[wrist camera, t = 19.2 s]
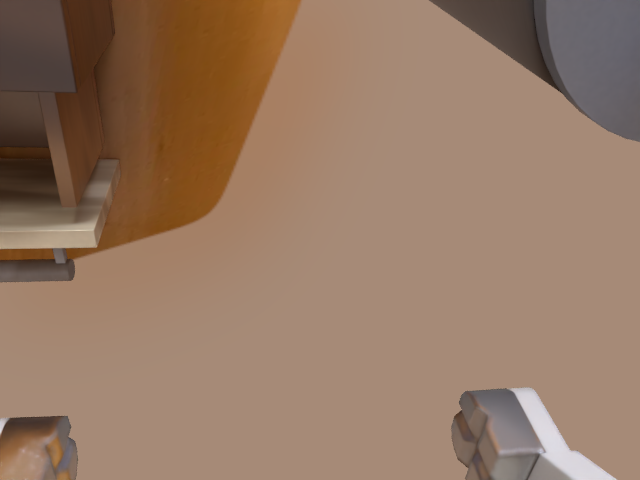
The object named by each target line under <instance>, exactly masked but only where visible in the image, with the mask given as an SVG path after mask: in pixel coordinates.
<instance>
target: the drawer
mask: <svg viewBox="0 0 640 480" xmlns="http://www.w3.org/2000/svg"><path fill="white" fill-rule="evenodd" d="M104 143H105V142H104V135H103V129H102V122H101V115H100V109H99V102H98V95H97V89H96V82H95V75H94V69H92V71H91V73H90V74H89V76H88V77H87V79H86V80H85V82H84V84H83V85H82V87H81V88H80V89H79V91H78V92H77V93H49V92H13V91H0V147H49V149H50V154H51V159H6V158H0V249H35V248H52V249H53V253H54V257H55V259H32V260H0V282H31V281H71V280H73V278H74V274H75V266H74V261H73V260H72V259H67V254H66V249H65V248H96V247H97V245H98V242H99V239H100V236H101V233H102V230H103V227H104V224H105V221H106V218H107V215H108V212H109V209H110V206H111V203H112V200H113V197H114V194H115V191H116V188H117V185H118V182H119V179H120V176H121V171H120V163H119V160H110V159H98V157H99V155H100V153H101V150H102V148H103V146H104Z"/></svg>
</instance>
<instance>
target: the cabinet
mask: <svg viewBox="0 0 640 480" xmlns="http://www.w3.org/2000/svg"><path fill="white" fill-rule="evenodd" d="M114 34H115V29H114V21H113V13H112V5H111V0H0V91H13V92H49V93H77V92H78V91H79V89H80V88H81V87H82V85H83V84H84V82H85V80H86V79H87V77H88V76H89V74H90V73H91V71H92V69H93V68H94V66H95V65H96V63H97V61H98V60H99V58H100V57H101V55H102V54H103V52H104V50H105V49H106V47H107V46H108V44H109V43H110V41H111V39H112V38H113V36H114Z"/></svg>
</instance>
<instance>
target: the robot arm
mask: <svg viewBox="0 0 640 480" xmlns="http://www.w3.org/2000/svg"><path fill="white" fill-rule="evenodd" d="M459 404H460V407H461V409H462V410H461V411H460V412H459V413H458V414H456V415H455V416H454V420H453V423H452V442H453V446H454V450H455V453H456V456H457V458H458V460H459V461H460V462H461V463H463V464H464V465H465V466H466V467H468V471H467V475H466V478H465V479H466V480H616V479H615V478H614V477H612V476H611V475H610V474H608V473H607V472H606V471H604V470H603V469H601V468H600V467H599V466H597V465H596V464H595V463H593V462H592V461H590V460H589V459H588V458H586V457H585V456H584V455H582V454H581V453H579V452H578V451H570V449H569V447H568V446H567V444H566V442H565V441H564V439H563V437H562V435H561V434H560V432H559V431H558V429H557V427H556V426H555V424H554V422H553V420H552V419H551V417H550V415H549V413H548V412H547V410H546V408H545V407H544V405H543V403H542V402H541V400H540V398H539V396H538V395H537V393H536V391H534V390H533V389H532V388H515V389H506V388H505V389H491V390H479V391H465V392H464V393H463V394H462V395H461V398H460V401H459ZM70 429H71V425H70V422H69V419H68V416H51V417H20V418H0V480H75V479H76V475H77V464H78V456H77V447H76V443H75V441H74V440H73V439H71V438H69V437H68V436H69V433H70Z"/></svg>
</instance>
